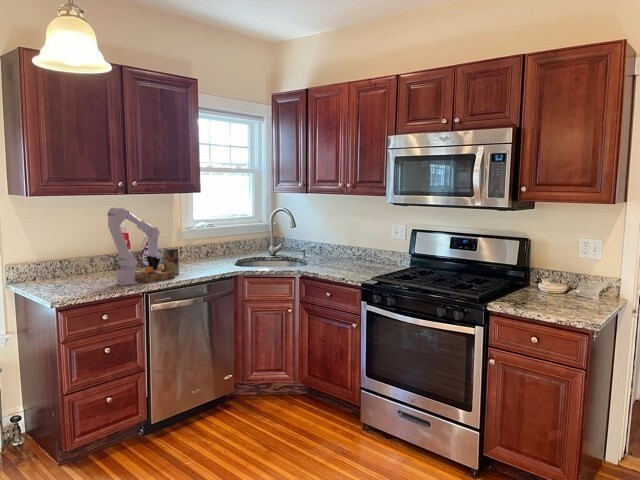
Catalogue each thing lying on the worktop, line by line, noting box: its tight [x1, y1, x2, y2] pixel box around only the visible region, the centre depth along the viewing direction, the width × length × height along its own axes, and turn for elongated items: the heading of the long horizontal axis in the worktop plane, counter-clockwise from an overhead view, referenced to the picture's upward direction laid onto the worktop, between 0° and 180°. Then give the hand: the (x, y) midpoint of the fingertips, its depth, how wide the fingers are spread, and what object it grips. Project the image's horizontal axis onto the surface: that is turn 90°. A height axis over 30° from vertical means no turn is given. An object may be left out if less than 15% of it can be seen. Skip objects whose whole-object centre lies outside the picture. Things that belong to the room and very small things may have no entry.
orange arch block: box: [143, 265, 163, 275], centre depth 285 cm, size 10×2×6 cm, turn 137°
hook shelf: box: [135, 268, 176, 284], centre depth 285 cm, size 20×14×5 cm
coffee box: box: [162, 248, 180, 276], centre depth 301 cm, size 9×6×16 cm
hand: (153, 269), depth 285 cm, fingers open, 4 cm apart
